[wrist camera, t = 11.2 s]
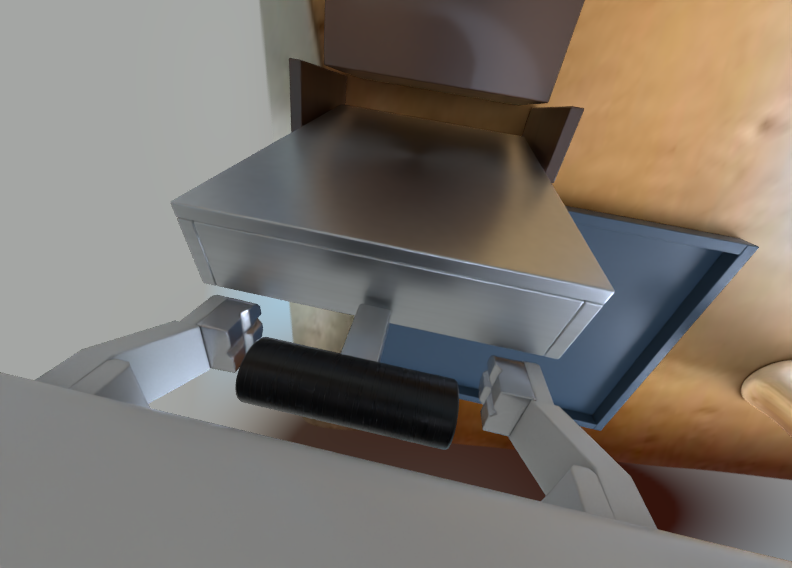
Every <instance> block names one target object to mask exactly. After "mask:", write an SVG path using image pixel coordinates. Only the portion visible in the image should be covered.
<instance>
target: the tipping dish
mask: <svg viewBox="0 0 792 568" xmlns="http://www.w3.org/2000/svg"><path fill="white" fill-rule="evenodd" d="M171 205H172V208H173V210H174V213H175V215H176V217H178V218H177V220H178V222H179V225H180V227H181V230H182V232H183V235H184V237H185V240H186V242H187V244H188V247H189V249H190V252H191V254H192V257H193V259H194V261H195V264H196V266H197V268H198V271H199V274H200V276H201V278H202V281H203V282H204V283H206V284H211V285H217V286H220V287H225V288H229V289H234V290H239V291H243V292H248V293H253V294H257V295H262V296H267V297H271V298H276V299H280V300H285V301H289V302H294V303H299V304H303V305H308V306H313V307H317V308H322V309H327V310H331V311H336V312H341V313H345V314H350V315H354V316H355V317H354V320H353V323H352V325H351V328H350V330H349V333H348V336H347V338H346V341H345V343H344V346H343V349H342V351H341V353H336V352H332V351H327V350H323V349H318V348H314V347H309V346H305V345H300V344H296V343H291V342H286V341H282V340H278V339H273V338H269V337H263V338H260V339H258V340H257V341H256V342H255V343H253V345H252V346H251V347H250V348H249V350H248V351H247V353H246V355H245V356H244V358H243V361H242V363H241V365H240V368H239V371H238V375H237V379H236V395H237V398H238V399H239V400H240V401H241V402H244V403H248V404H253V405H257V406H261V407H266V408H269V409H274V410H278V411H282V412H287V413H291V414H295V415H299V416H303V417H308V418H312V419H316V420H320V421H325V422H329V423H333V424H337V425H342V426H346V427H350V428H354V429H359V430H363V431H367V432H371V433H375V434H380V435H384V436H388V437H392V438H397V439H401V440H405V441H409V442H414V443H418V444H422V445H427V446H431V447H435V448H439V449H444V450H445V449H448V448H449V446H450V444H451V442H452V440H453V437H454V433H455V429H456V424H457V418H458V409H459V388H458V383H457V381H456V380H455V379H453V378H448V377H444V376H439V375H435V374H430V373H426V372H421V371H417V370H412V369H408V368H403V367H399V366H394V365H390V364H385V363H381V362H380V360H381V356H382V352H383V348H384V344H385V340H386V336H387V332H388V329H389V323H392V324H396V325H401V326H406V327H410V328H415V329H419V330H424V331H429V332H433V333H438V334H443V335H447V336H452V337H457V338H461V339H466V340H471V341H475V342H480V343H484V344H489V345H494V346H498V347H503V348H508V349H512V350H517V351H522V352H526V353H531V354H536V355H540V356H543V355H544V356H545V357H549V358H554V359H559V358H560V357H561V356H562V355H563V354H564V352H565V351H566V350H567V349H568V348H569V346H570V345H571V344H572V343H573V342H574V340H575V339H576V338H577V337H578V336H579V334H580V333H581V332H582V331H583V330H584V328H585V327H586V326H587V325H588V324H589V322H590V321H591V320H592V319H593V318H594V316H595V315H596V314H597V313H598V312H599V310H600V309H601V308H602V307H603V304H605V303H606V302H607V301H608V299H609V298H610V297H611V296H612V295H613V293H614V289H613V287H612V286H611V284H610V282H609V280H608V279H607V277H606V275H605V274H604V272H603V270H602V269H601V267H600V265H599V263H598V262H597V260H596V258H595V257H594V255H593V253H592V252H591V250H590V248H589V246H588V245H587V243H586V241H585V240H584V238H583V236H582V235H581V233H580V231H579V229H578V228H577V226H576V224H575V223H574V221H573V219H572V218H571V216H570V214H569V212H568V211H567V209H566V207H565V206H564V204H563V202H562V201H561V199H560V197H559V195H558V194H557V192H556V190H555V189H554V187H553V185H552V184H551V182H550V180H549V178H548V177H547V175H546V173H545V172H544V170H543V168H542V167H541V165H540V163H539V161H538V160H537V158H536V156H535V155H534V153H533V151H532V150H531V148H530V146H529V144H528V143H527V141H526V139H525V138H524V137H523V136H518V135H512V134H506V133H501V132H495V131H489V130H484V129H478V128H473V127H467V126H461V125H456V124H450V123H444V122H439V121H433V120H428V119H422V118H416V117H411V116H405V115H399V114H394V113H388V112H382V111H377V110H371V109H366V108H360V107H354V106H349V105H343V104H341V105H339V106H337V107H335V108H334V109H332V110H330V111H328V112H327V113H325V114H323V115H321V116H320V117H318V118H316V119H314V120H313V121H311V122H309V123H307V124H306V125H304V126H302V127H300V128H299V129H297V130H295V131H293V132H292V133H290V134H288V135H286V136H285V137H283V138H281V139H279V140H278V141H276V142H274V143H272V144H271V145H269V146H267V147H266V148H264V149H262V150H260V151H258V152H257V153H255V154H253V155H251V156H250V157H248V158H246V159H244V160H243V161H241V162H239V163H237V164H236V165H234V166H232V167H231V168H229V169H227V170H225V171H223V172H222V173H220V174H218V175H216V176H215V177H213V178H211V179H209V180H208V181H206V182H204V183H202V184H201V185H199V186H197V187H195V188H194V189H192V190H190V191H188V192H187V193H185V194H183V195H181V196H179V197H178V198H176V199H174V200H173V201H171Z"/></svg>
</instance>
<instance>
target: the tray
mask: <svg viewBox="0 0 792 568" xmlns="http://www.w3.org/2000/svg"><path fill="white" fill-rule="evenodd" d="M564 206H565V205H564ZM565 207H566V209H567V211H568V212H569V214H570V216H571V218H572V219H573V221H574V223H575V224H576V226H577V228H578V229H579V231H580V233H581V235H582V236H583V238H584V240H585V241H586V243H587V245H588V246H589V248H590V250H591V252H592V253H593V255H594V257H595V258H596V260H597V262H598V263H599V265H600V267H601V269H602V270H603V272H604V274H605V275H606V277H607V279H608V280H609V282H610V284H611V286H612V287H613V289H614V293H613V295H612V296H611V297H610V298H609V299H608V301H607V302H606V303H605V304H603V307H602V308H601V309H600V310H599V312H598V313H597V314H596V315H595V316H594V318H593V319H592V320H591V321H590V322H589V324H588V325H587V326H586V327H585V328H584V330H583V331H582V332H581V333H580V334H579V336H578V337H577V338H576V339H575V340H574V342H573V343H572V344H571V345H570V346H569V348H568V349H567V350H566V351H565V352H564V354H563V355H562V356H561V357H560V358H559V359H554V358H549V357H545V356H544V355H543V356H540V355H536V354H531V353H526V352H522V351H517V350H512V349H508V348H503V347H498V346H494V345H489V344H484V343H480V342H475V341H471V340H466V339H461V338H457V337H452V336H447V335H443V334H438V333H433V332H429V331H424V330H419V329H415V328H410V327H406V326H401V325H396V324H392V323H389V329H388V332H387V336H386V340H385V344H384V348H383V352H382V356H381V360H380V362H381V363H385V364H390V365H394V366H399V367H403V368H408V369H412V370H417V371H421V372H426V373H430V374H435V375H439V376H444V377H448V378H453V379H455V380H456V381H457V383H458V388H459V399H463V400H467V401H472V402H476V403H481V401H480V400H479V383H480V378H481V376H482V373H483V372H484V371H486V370H488V366H487V362H488V360H489V358H490V356H491V355H495V356H500V357H505V358H509V359H514V360H519V361H525V362H531V363H536V364H538V365H539V366H540V368H541V371H542V374H543V376H544V379H545V382H546V384H547V387H548V390H549V392H550V395H551V398H552V400H553V403H554V405H556V406H559V407H560V408H561V409H562V410H563V411H565V412H566V413H567V414H568V415H569V416H570V417H571V418H572V419H573V420H574V421H575V422H576V423H577V424H578V425H579V426H582V427H587V428H591V429H595V430H600V431H601V430H602V429H603V427H604V426H605V425H606V424H607V423H608V422H609V420H610V419H611V418H612V417H613V416H614V415H615V413H616V412H617V411H618V410H619V409H620V408H621V407H622V405H623V404H624V403H625V402H626V401H627V400H628V398H629V397H630V396H631V395H632V394H633V393H634V392H635V390H636V389H637V388H638V387H639V386H640V385H641V383H642V382H643V381H644V380H645V379H646V378H647V376H648V375H649V374H650V373H651V372H652V371H653V370H654V368H655V367H656V366H657V365H658V364H659V363H660V361H661V360H662V359H663V358H664V357H665V356H666V354H667V353H668V352H669V351H670V350H671V349H672V348H673V346H674V345H675V344H676V343H677V342H678V341H679V339H680V338H681V337H682V336H683V335H684V334H685V333H686V331H687V330H688V329H689V328H690V327H691V326H692V324H693V323H694V322H695V321H696V320H697V319H698V317H699V316H700V315H701V314H702V313H703V312H704V311H705V309H706V308H707V307H708V306H709V305H710V304H711V302H712V301H713V300H714V299H715V298H716V297H717V296H718V294H719V293H720V292H721V291H722V290H723V289H724V287H725V286H726V285H727V284H728V283H729V282H730V280H731V279H732V278H733V277H734V276H735V275H736V274H737V272H738V271H739V270H740V269H741V268H742V267H743V265H744V264H745V263H746V262H747V261H748V260H749V259H750V257H751V256H752V255H753V254H754V253H755V252H756V250H757V249H758V248H759V247H758V246H756V245H754V244H751V243H749V242H747V241H744V240H743V239H740V238H735V237H729V236H724V235H719V234H713V233H708V232H703V231H697V230H692V229H687V228H682V227H676V226H671V225H666V224H660V223H655V222H650V221H644V220H639V219H634V218H628V217H623V216H618V215H613V214H607V213H602V212H597V211H591V210H586V209H581V208H575V207H570V206H565ZM481 404H482V403H481Z"/></svg>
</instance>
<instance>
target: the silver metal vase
mask: <svg viewBox="0 0 792 568" xmlns="http://www.w3.org/2000/svg"><path fill="white" fill-rule="evenodd" d="M741 394H742V396H743V398H744V399H745V400H746V401H747V402H748V403H749V404H751V405H752V406H753V407H755V408H756V409H758V410H759V411H761V412H762V413H763V414H765V415H766V416H768V417H769V418H770V419H772V420H773V421H774V422H776V423H777V424H778V425H779V426H780V427H781V428H782V429H783V430H785V431H786V433H787V434H788V435H789V436H790V437H791V438H792V360H786V361H781V362H777V363H773V364H770V365H767V366H765V367H763V368H761V369H759V370H757V371H755V372H754V373H752V374H751V375H750V376H749V377H748V378H747V379H746V380H745V381H744V382H743V384H742V387H741Z"/></svg>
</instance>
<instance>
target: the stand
mask: <svg viewBox="0 0 792 568" xmlns="http://www.w3.org/2000/svg"><path fill="white" fill-rule="evenodd" d="M584 1H585V0H325V32H324V65H326V66H329V67H331V68H334V69H337V70H339V71H342V72H345V73H347V74H350V75H353V76H355V77H358V78H362V79H368V80H374V81H380V82H386V83H391V84H397V85H403V86H409V87H415V88H420V89H426V90H432V91H438V92H444V93H449V94H455V95H461V96H467V97H473V98H478V99H484V100H490V101H496V102H502V103H507V104H513V105H529V104H541V103H548V102H549V99H550V96H551V94H552V91H553V88H554V85H555V82H556V80H557V77H558V74H559V71H560V68H561V66H562V63H563V60H564V57H565V54H566V52H567V49H568V46H569V43H570V40H571V38H572V35H573V32H574V29H575V26H576V24H577V21H578V18H579V15H580V12H581V10H582V7H583V4H584ZM289 71H290V103H291V133H292V132H293V131H295V130H297V129H299V128H300V127H302V126H304V125H306V124H307V123H309V122H311V121H313V120H314V119H316V118H318V117H320V116H321V115H323V114H325V113H327V112H328V111H330V110H332V109H334V108H335V107H337V106H339V105H341V104H343V105H345V103H346V84H347V76H345V75H343V74H340V73H337V72H334V71H331V70H328V69H325V68H322V67H320V66H317V65H314V64H311V63H308V62H305V61H302V60H299V59H293V58H289ZM583 111H584V108H580V107H574V106H566V107H541V108H531V111H530V114H529V117H528V120H527V123H526V126H525V128H524V131H523V134H522V136H523V137H524V138H525V139H526V141H527V143H528V144H529V146H530V148H531V150H532V151H533V153H534V155H535V156H536V158H537V160H538V161H539V163H540V165H541V167H542V168H543V170H544V172H545V173H546V175H547V177H548V178H549V180H550V182H551V183H554V181H555V178H556V176H557V174H558V171H559V169H560V166H561V164H562V162H563V159H564V157H565V154H566V152H567V150H568V147H569V145H570V142H571V140H572V138H573V135H574V133H575V130H576V128H577V126H578V123H579V121H580V118H581V116H582V114H583Z"/></svg>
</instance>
